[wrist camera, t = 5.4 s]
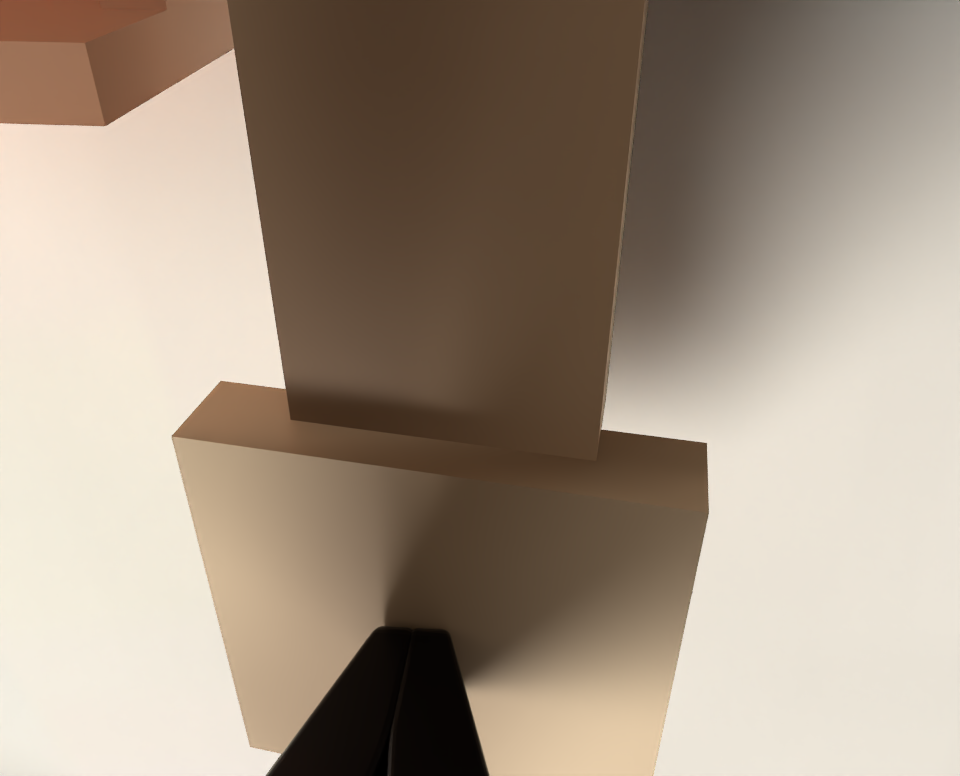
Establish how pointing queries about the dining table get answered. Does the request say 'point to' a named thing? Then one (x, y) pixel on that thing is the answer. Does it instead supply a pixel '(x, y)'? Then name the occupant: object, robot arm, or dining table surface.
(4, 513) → the dining table surface
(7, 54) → the orange open box
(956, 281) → the dining table surface
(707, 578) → the dining table surface
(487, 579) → the lever
